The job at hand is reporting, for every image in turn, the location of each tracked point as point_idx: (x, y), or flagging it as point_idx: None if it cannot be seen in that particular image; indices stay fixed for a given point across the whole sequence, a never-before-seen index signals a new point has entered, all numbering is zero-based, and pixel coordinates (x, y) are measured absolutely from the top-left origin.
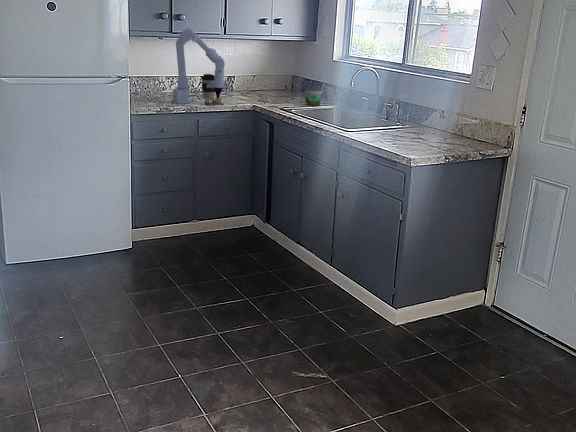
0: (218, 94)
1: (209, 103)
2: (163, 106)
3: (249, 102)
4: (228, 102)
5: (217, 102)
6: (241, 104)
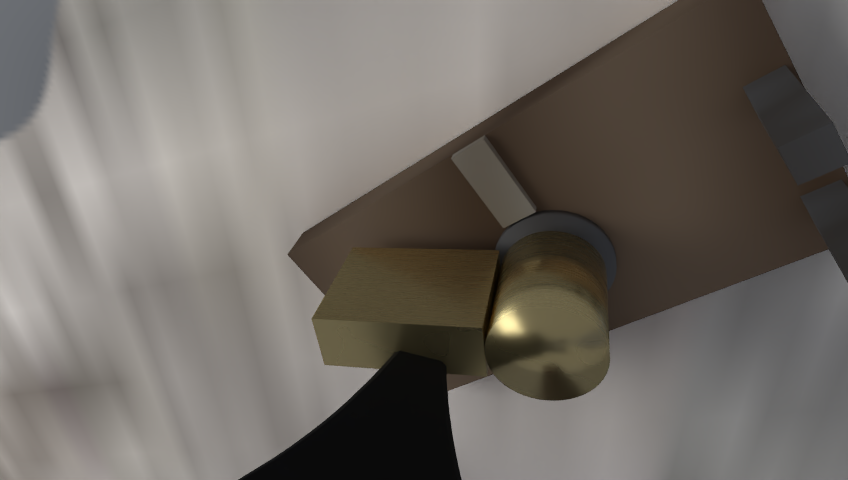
0: (356, 434)
1: (708, 135)
2: None
3: (3, 476)
4: None
5: None
6: (23, 333)
